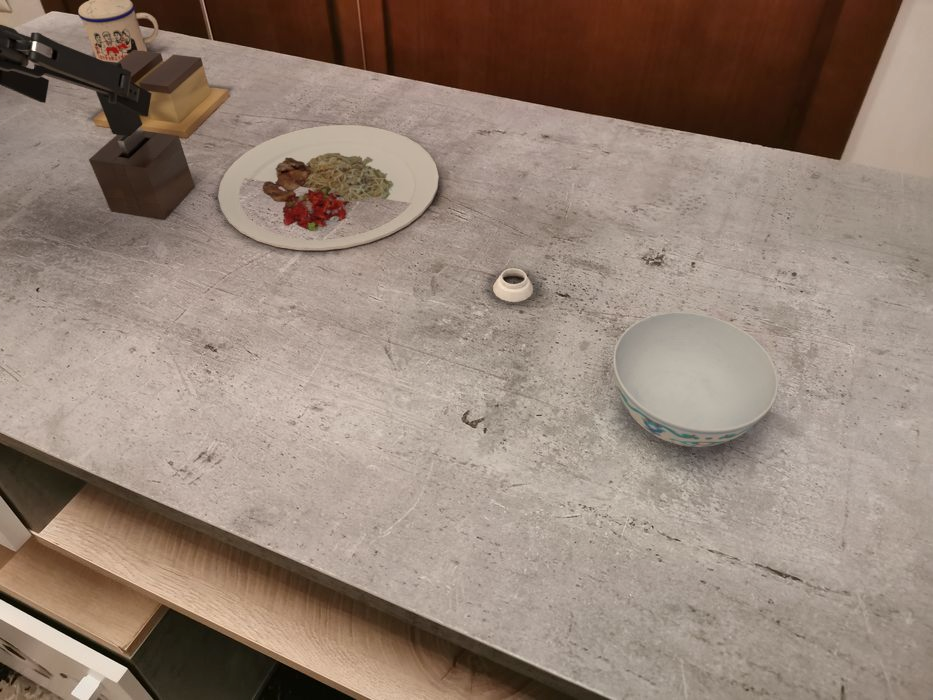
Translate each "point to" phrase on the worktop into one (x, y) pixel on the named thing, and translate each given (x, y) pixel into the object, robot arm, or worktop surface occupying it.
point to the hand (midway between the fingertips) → (95, 97)
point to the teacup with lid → (114, 28)
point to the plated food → (331, 181)
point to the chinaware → (693, 378)
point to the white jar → (513, 286)
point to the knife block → (144, 176)
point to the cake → (171, 92)
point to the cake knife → (123, 124)
